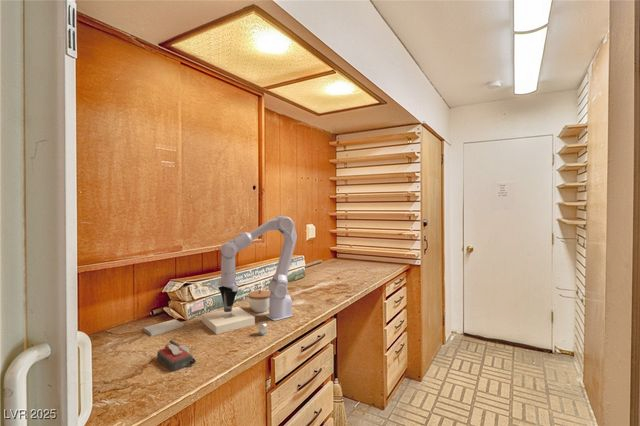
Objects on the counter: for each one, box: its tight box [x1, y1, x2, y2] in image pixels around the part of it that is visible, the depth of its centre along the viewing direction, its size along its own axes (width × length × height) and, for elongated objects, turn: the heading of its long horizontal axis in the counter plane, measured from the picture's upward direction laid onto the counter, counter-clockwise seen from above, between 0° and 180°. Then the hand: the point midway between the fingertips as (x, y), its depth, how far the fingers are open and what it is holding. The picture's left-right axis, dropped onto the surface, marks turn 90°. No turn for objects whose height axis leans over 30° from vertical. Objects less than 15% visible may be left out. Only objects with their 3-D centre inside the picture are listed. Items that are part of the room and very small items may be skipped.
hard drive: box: [142, 318, 185, 337], centre depth 125 cm, size 2×8×12 cm
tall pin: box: [223, 293, 233, 312], centre depth 131 cm, size 3×3×8 cm
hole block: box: [201, 306, 256, 335], centre depth 131 cm, size 16×16×3 cm
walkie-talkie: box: [156, 339, 196, 372], centre depth 103 cm, size 9×4×20 cm
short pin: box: [257, 321, 268, 337], centre depth 121 cm, size 3×3×4 cm
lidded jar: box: [247, 289, 271, 313], centre depth 147 cm, size 11×11×9 cm
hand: (228, 304), depth 131 cm, fingers closed on tall pin, 3 cm apart
